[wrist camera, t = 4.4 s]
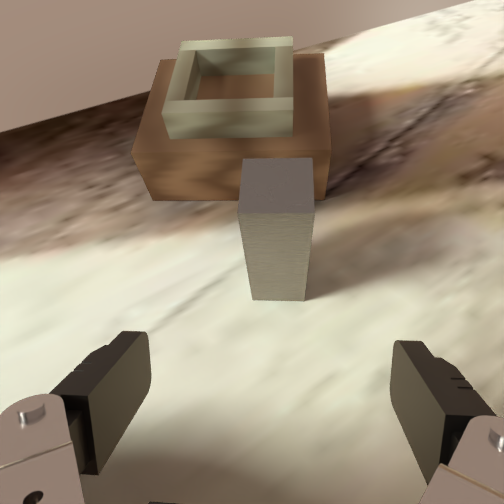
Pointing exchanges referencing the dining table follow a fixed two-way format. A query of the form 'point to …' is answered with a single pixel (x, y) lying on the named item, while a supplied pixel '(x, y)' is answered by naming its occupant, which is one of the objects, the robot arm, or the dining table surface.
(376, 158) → the dining table surface
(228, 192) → the stand
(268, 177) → the peg
